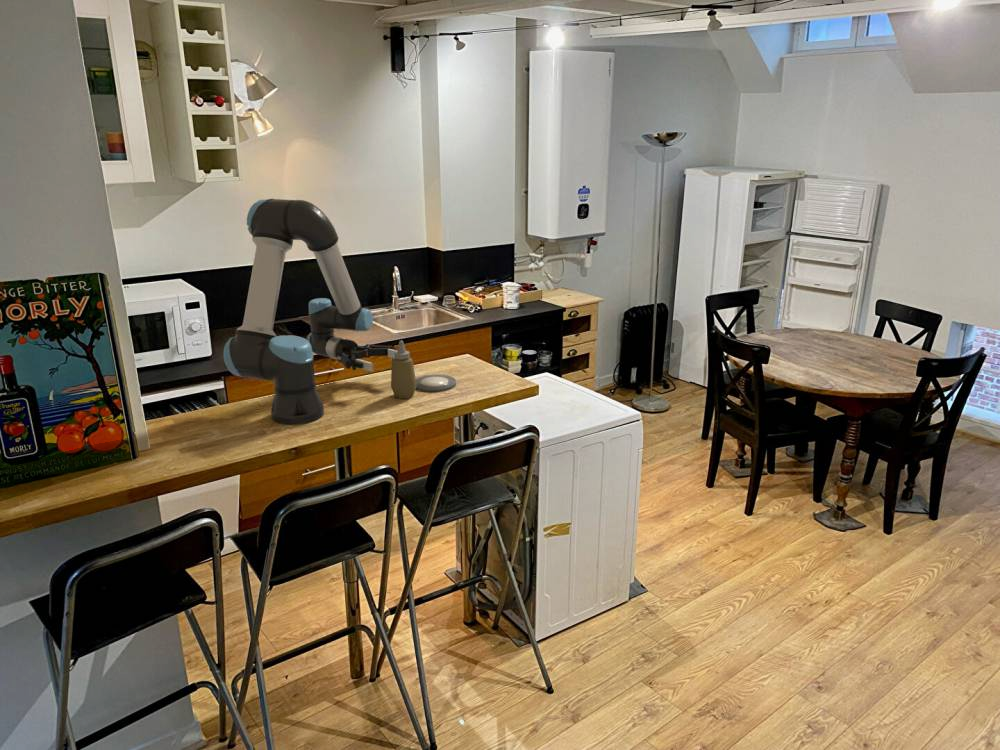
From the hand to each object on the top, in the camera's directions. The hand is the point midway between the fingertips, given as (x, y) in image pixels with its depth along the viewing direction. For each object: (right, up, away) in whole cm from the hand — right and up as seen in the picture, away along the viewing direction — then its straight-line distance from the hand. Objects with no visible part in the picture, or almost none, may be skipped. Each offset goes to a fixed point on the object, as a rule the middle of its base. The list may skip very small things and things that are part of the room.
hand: (387, 361), depth 240 cm
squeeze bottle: (+5, -11, -2) cm, 12 cm away
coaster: (+14, -7, +8) cm, 18 cm away
